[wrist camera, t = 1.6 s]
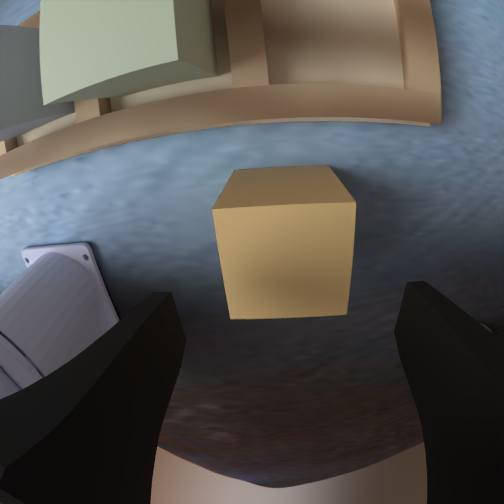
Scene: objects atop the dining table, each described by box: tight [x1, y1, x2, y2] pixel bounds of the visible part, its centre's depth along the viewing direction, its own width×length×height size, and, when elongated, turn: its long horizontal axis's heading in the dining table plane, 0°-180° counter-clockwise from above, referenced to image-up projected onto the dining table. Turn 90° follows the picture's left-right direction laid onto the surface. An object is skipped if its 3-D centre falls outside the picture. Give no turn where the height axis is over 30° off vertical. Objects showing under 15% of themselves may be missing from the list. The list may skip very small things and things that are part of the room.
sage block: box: [39, 0, 219, 105], centre depth 8 cm, size 5×5×6 cm
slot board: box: [0, 0, 442, 179], centre depth 11 cm, size 10×26×3 cm, turn 96°
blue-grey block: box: [0, 25, 75, 142], centre depth 9 cm, size 5×5×6 cm
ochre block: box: [212, 165, 356, 319], centre depth 14 cm, size 5×5×6 cm
